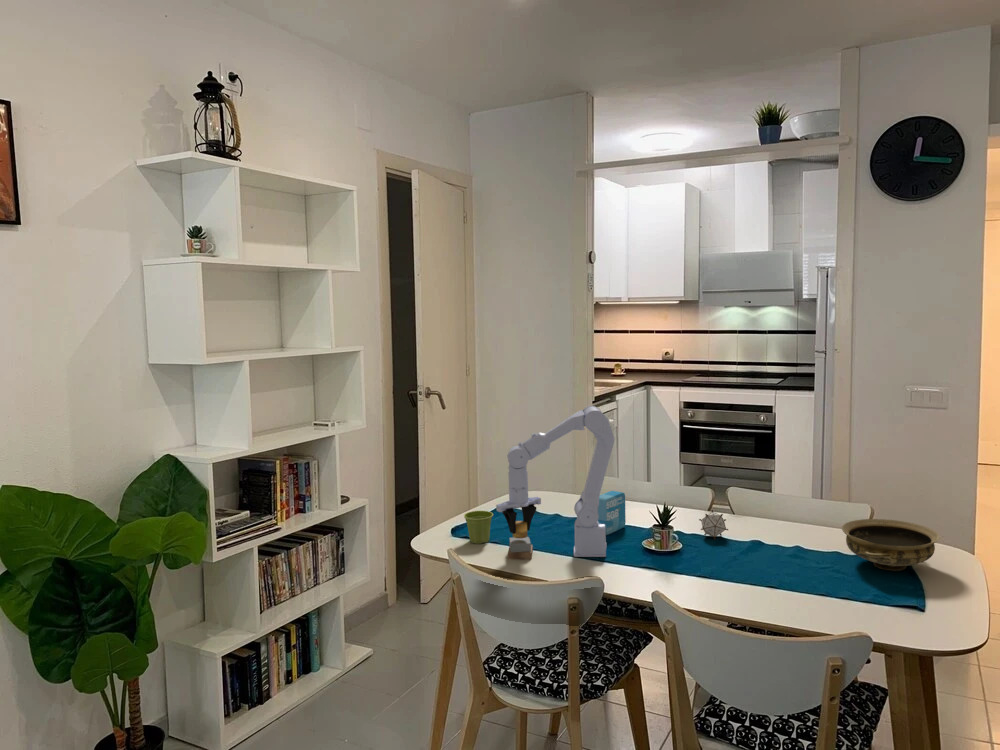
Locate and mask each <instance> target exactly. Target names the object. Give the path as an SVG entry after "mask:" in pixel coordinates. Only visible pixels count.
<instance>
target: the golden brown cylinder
mask: <svg viewBox="0 0 1000 750" xmlns="http://www.w3.org/2000/svg"><path fill="white" fill-rule="evenodd" d="M526 537H528V531H527V522H525V521H523V520H516V532H515V534H513V533H512V538H526Z"/></svg>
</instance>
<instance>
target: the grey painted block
mask: <svg viewBox="0 0 1000 750" xmlns="http://www.w3.org/2000/svg"><path fill="white" fill-rule="evenodd" d="M531 545H532V543H531V539H530V536H527V537H526V538H514V537H509V546H510V551H511V552H531Z"/></svg>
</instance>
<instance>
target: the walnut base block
mask: <svg viewBox="0 0 1000 750" xmlns="http://www.w3.org/2000/svg"><path fill="white" fill-rule="evenodd" d="M533 546H534V544H531V552H511V551H510V545H509V546H508V551H507V559H508V560H532V559H533V554H534V553H533V551H534V547H533Z"/></svg>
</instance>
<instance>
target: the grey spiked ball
mask: <svg viewBox="0 0 1000 750" xmlns="http://www.w3.org/2000/svg"><path fill="white" fill-rule="evenodd" d="M704 515H705V516H704V517H703V518H702V519H701V518H699V519H698V521H701V522H700V523H701V527H702V528H700V531H703V532H704V534H703V535H704V536H706V535H708V536H711V537H712V538H713V539H714V540H716V538H717V536H722V533H723V532H725V531H729V528H727V527H726V521H727V519H726V518H725V519H724V518H723V515H724V514H723V513H721V514H718V513H715V512H714V510H713V509H711V512H710V513H708V514H707V513H705V514H704Z"/></svg>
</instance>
